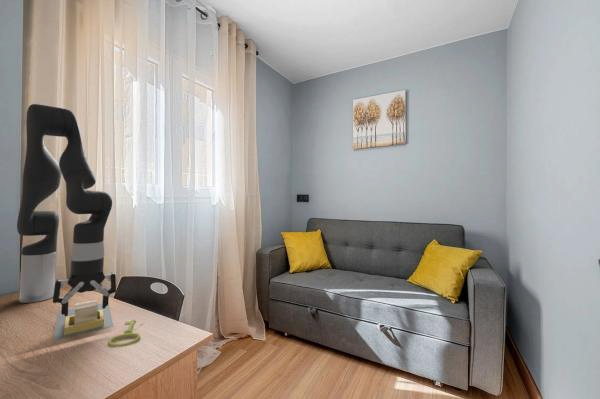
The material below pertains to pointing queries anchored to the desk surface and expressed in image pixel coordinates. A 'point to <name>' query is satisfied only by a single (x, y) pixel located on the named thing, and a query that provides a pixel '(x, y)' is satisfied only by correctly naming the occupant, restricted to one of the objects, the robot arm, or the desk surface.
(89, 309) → the beech block
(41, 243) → the robot arm
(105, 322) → the puzzle board
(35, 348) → the desk surface
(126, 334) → the key
